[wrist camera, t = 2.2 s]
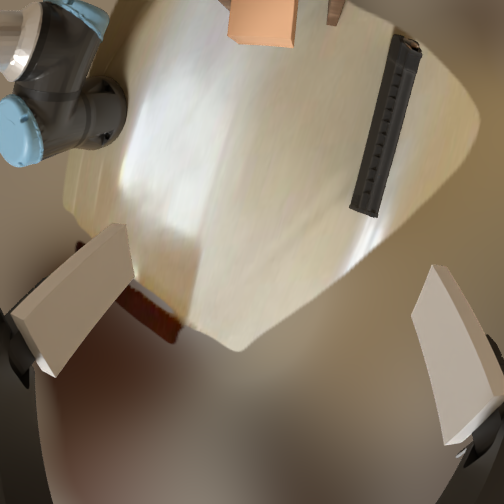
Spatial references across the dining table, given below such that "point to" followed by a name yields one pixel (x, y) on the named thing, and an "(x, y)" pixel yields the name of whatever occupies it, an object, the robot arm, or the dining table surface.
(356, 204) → the magazine
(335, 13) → the rack
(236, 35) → the batten
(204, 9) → the dining table surface
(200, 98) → the dining table surface
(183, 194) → the dining table surface
